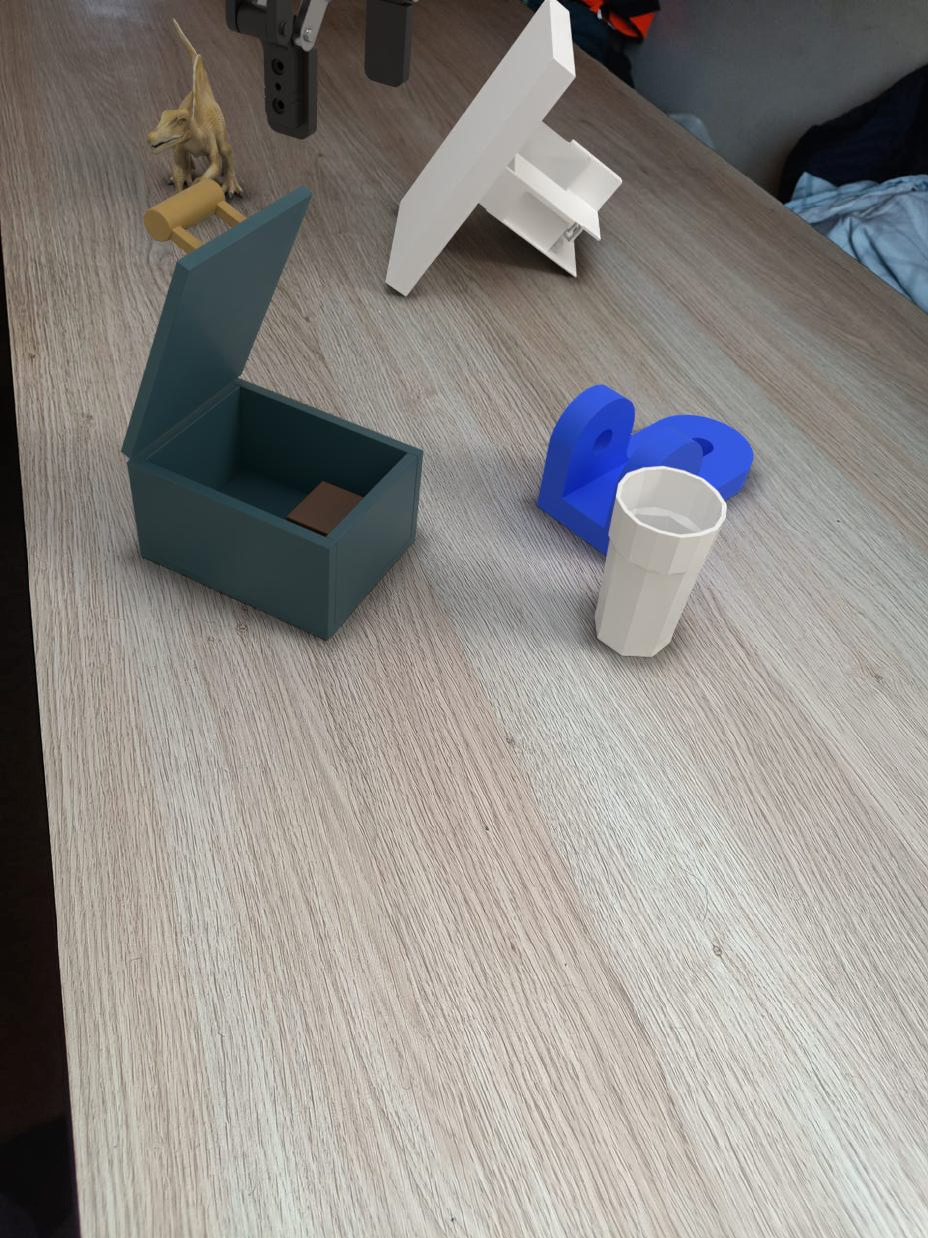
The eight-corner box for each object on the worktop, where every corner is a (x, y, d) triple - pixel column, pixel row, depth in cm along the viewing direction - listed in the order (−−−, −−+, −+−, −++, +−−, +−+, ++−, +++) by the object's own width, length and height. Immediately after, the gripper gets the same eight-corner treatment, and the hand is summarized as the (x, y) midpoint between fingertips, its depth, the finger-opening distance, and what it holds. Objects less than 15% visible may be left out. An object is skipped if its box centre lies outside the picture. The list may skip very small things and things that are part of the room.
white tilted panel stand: (405, 177, 114) (548, -25, 100) (523, 264, 121) (673, 86, 107) (385, 282, 98) (553, 57, 84) (523, 376, 104) (700, 183, 90)
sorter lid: (313, 192, 61) (243, 137, 61) (188, 270, 54) (108, 206, 54) (241, 374, 73) (182, 328, 73) (130, 459, 65) (64, 407, 65)
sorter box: (415, 540, 75) (424, 450, 70) (327, 641, 67) (329, 549, 62) (242, 467, 79) (237, 376, 73) (140, 555, 71) (126, 461, 66)
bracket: (620, 566, 75) (649, 464, 69) (536, 505, 79) (556, 403, 73) (766, 474, 85) (803, 377, 79) (685, 424, 89) (714, 327, 82)
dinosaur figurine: (154, 246, 101) (138, 98, 91) (179, 135, 119) (168, 2, 110) (237, 250, 102) (229, 104, 92) (249, 139, 120) (244, 9, 111)
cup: (598, 583, 74) (632, 454, 66) (690, 614, 73) (736, 486, 65) (570, 645, 69) (603, 514, 62) (668, 679, 68) (714, 550, 60)
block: (344, 592, 69) (346, 541, 66) (286, 567, 71) (285, 516, 67) (377, 554, 72) (380, 503, 69) (321, 530, 73) (322, 480, 70)
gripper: (362, -365, 45) (351, 50, 56) (143, -369, 36) (183, 129, 47) (522, -336, 43) (477, 86, 55) (336, -333, 34) (329, 177, 45)
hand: (341, 106), depth 51 cm, fingers open, 8 cm apart
